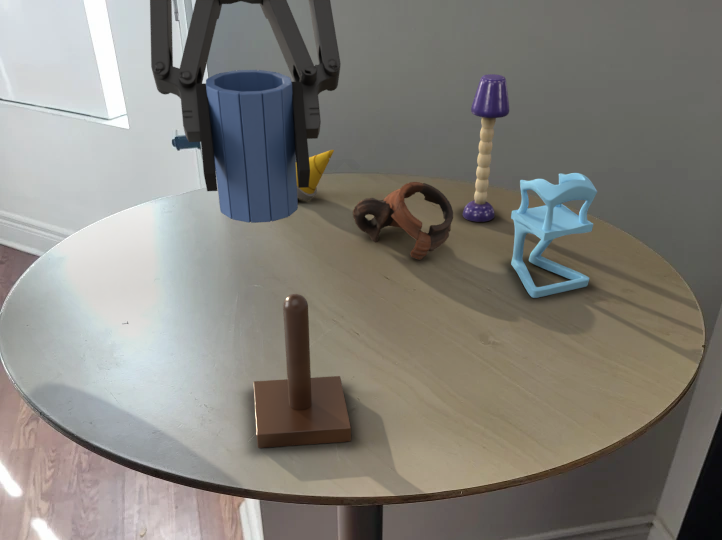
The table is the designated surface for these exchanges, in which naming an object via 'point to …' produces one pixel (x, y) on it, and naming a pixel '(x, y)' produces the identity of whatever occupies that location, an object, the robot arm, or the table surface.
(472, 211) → the toy lamp
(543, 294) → the chair
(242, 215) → the blue fluted tube
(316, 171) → the drill bit
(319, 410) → the stand
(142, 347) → the table surface
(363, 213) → the brown looped strap
